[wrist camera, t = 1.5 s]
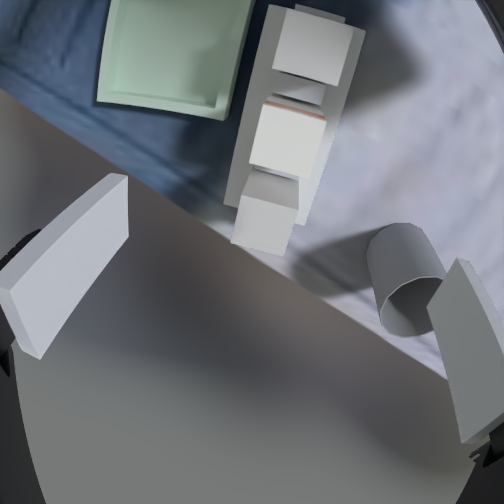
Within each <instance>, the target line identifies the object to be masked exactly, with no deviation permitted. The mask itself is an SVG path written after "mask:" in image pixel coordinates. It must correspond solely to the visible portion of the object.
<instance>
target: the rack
mask: <svg viewBox="0 0 504 504" xmlns="http://www.w3.org/2000/svg"><path fill="white" fill-rule="evenodd" d="M287 9H289V8H285V7H280V6H276V5H271V4H269V7H268V10H267V14H266V18H265V22H264V26H263V30H262V34H261V38H260V42H259V46H258V50H257V54H256V58H255V62H254V66H253V70H252V75H251V79H250V83H249V87H248V91H247V96H246V100H245V104H244V109H243V113H242V118H241V122H240V127H239V131H238V136H237V140H236V145H235V150H234V154H233V159H232V164H231V168H230V173H229V178H228V183H227V188H226V193H225V198H224V203H223V204H224V205H228V206H232V207H236V208H239V203H240V199H241V195H242V192H243V190H244V187H245V185H246V182H247V180H248V177H249V175H250V173H251V170H252V168H253V165H254V164H251V163H249V160H250V156H251V152H252V147H253V143H254V139H255V135H256V131H257V127H258V122H259V118H260V114H261V110H262V106H263V104H264V102H265V101H266V100H267V99H268V97H269V96H270V95H271V94H272V92H273V93H277V94H281V95H285V96H289V97H292V98H296V99H300V100H303V101H307V102H310V103H314V104H317V105H319V106H320V108H321V110H322V112H323V115H324V116H325V119H326V121H327V123H326V126H325V129H324V132H323V136H322V139H321V142H320V145H319V149H318V152H317V155H316V158H315V161H314V164H313V167H312V171H311V174H310V177H309V179H307V178H303V177H300V176H296V175H292V174H289V173H285V172H281V171H278V170H274V169H270V168H266V167H263V166H259V165H255V166H254V169H257V170H261V171H265V172H269V173H272V174H276V175H280V176H284V177H287V178H291V179H294V180H298V179H299V211H298V214H297V217H296V220H295V223H296V224H300V225H305V222H306V219H307V217H308V214H309V211H310V208H311V205H312V202H313V199H314V196H315V193H316V190H317V187H318V185H319V182H320V179H321V176H322V173H323V170H324V167H325V164H326V161H327V158H328V155H329V151H330V148H331V145H332V142H333V139H334V136H335V133H336V130H337V127H338V124H339V120H340V117H341V114H342V111H343V108H344V104H345V101H346V98H347V95H348V91H349V88H350V85H351V81H352V78H353V75H354V71H355V68H356V65H357V61H358V58H359V54H360V51H361V47H362V44H363V40H364V37H365V33H366V31H364V30H362V29H359V28H356V27H354V31H353V34H352V38H351V41H350V45H349V48H348V52H347V55H346V59H345V62H344V66H343V69H342V73H341V76H340V80H339V83H338V86H334V85H331V84H328V83H324V82H321V81H318V80H314V79H311V78H307V77H304V76H300V75H296V74H293V73H289V72H285V71H281V70H277V69H272V66H273V62H274V58H275V54H276V50H277V47H278V43H279V39H280V35H281V31H282V27H283V24H284V20H285V16H286V12H287ZM291 10H295V11H299V12H303V13H307V14H311V15H314V16H318V17H322V18H325V19H329V20H332V21H335V22H338V23H342V24H344V22H345V19H346V18H345V17H341V16H338V15H335V14H332V13H328V12H325V11H321V10H318V9H314V8H310V7H306V6H302V5H298V4H296V6H295V9H291ZM345 25H347V24H345ZM348 26H350V25H348ZM351 27H353V26H351Z"/></svg>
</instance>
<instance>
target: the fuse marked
mask: <svg viewBox="0 0 504 504" xmlns="http://www.w3.org/2000/svg"><path fill="white" fill-rule="evenodd" d="M326 123H327V121H326V119H325V116H324V115H323V112H322V110H321V108H320V106H319V105H317V104H314V103H310V102H307V101H303V100H300V99H296V98H292V97H289V96H285V95H281V94H277V93H273V92H272V94H271V95H270V96H269V97H268V99H267V100H266V101H265V102H264V104H263V106H262V110H261V114H260V118H259V122H258V127H257V131H256V135H255V139H254V143H253V147H252V152H251V156H250V160H249V163H251V164H255V165H259V166H263V167H266V168H270V169H274V170H278V171H281V172H285V173H289V174H292V175H296V176H300V177H303V178H307V179H309V177H310V174H311V171H312V167H313V164H314V161H315V158H316V155H317V152H318V149H319V145H320V142H321V139H322V136H323V132H324V129H325V126H326Z"/></svg>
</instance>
